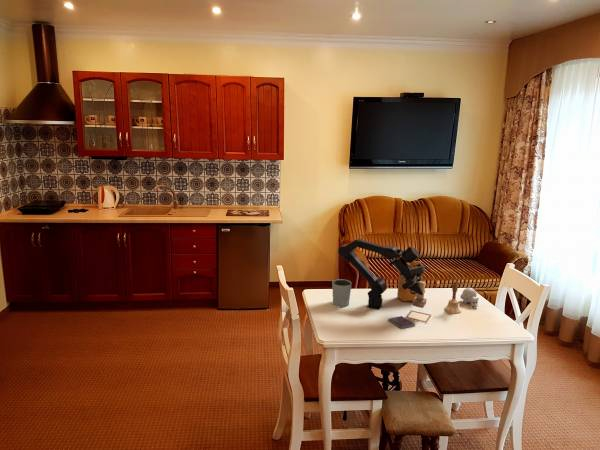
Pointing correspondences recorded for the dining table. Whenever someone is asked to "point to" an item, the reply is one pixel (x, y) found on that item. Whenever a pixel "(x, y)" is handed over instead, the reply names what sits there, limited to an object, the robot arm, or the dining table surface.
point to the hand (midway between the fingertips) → (423, 293)
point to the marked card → (418, 316)
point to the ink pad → (401, 322)
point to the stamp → (420, 296)
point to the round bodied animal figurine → (470, 297)
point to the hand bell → (453, 301)
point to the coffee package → (407, 293)
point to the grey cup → (341, 292)
